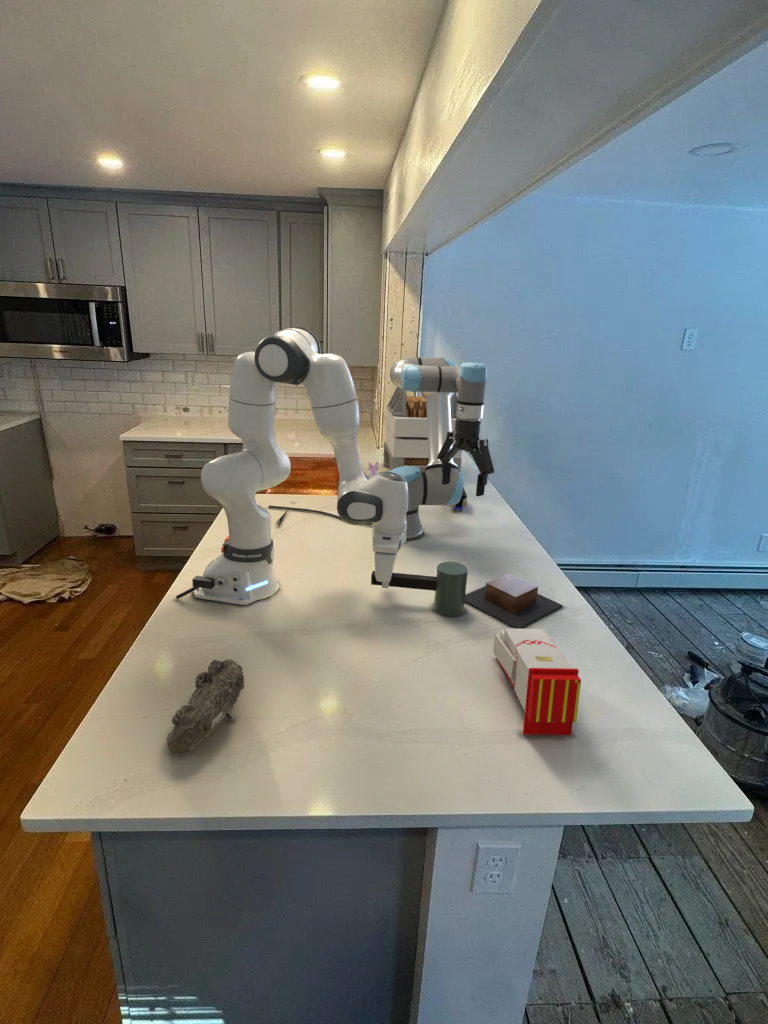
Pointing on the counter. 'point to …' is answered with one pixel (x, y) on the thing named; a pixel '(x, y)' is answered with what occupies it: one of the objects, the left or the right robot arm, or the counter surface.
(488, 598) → the brown square block
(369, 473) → the figurine
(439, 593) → the green mallet
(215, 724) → the fossil
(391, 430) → the white wooden crate
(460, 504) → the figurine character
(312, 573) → the counter surface
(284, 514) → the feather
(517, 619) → the coaster
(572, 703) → the toy
